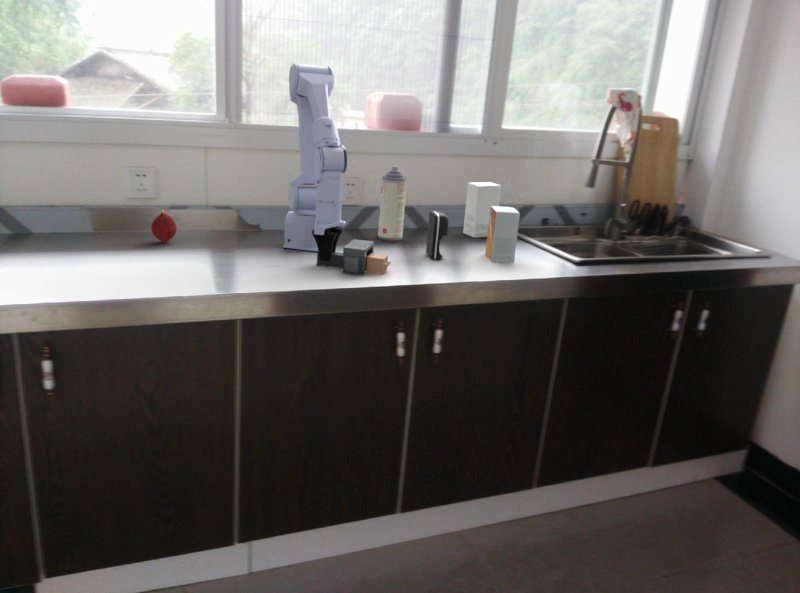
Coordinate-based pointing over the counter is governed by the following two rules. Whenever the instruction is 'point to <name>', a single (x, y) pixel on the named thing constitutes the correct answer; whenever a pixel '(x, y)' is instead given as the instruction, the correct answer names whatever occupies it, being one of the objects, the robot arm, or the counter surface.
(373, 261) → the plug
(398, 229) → the aerosol can
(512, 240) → the small box
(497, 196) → the skincare box
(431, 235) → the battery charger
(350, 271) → the housing
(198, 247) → the counter surface
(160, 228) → the onion
